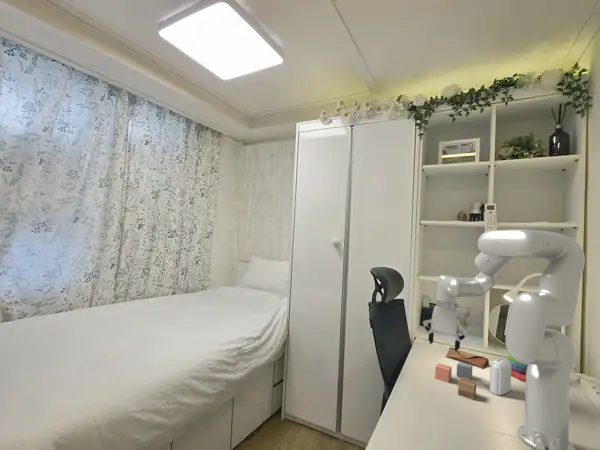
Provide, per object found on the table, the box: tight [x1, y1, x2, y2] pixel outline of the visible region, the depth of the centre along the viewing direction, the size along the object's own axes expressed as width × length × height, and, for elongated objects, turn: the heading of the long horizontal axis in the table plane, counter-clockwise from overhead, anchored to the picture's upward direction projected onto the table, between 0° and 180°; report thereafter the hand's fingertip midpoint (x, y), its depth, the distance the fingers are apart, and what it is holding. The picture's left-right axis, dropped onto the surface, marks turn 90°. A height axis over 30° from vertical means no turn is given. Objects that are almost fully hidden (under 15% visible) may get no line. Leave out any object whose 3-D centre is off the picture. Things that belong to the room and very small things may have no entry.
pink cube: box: [434, 363, 453, 383], centre depth 120 cm, size 5×5×5 cm
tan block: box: [457, 377, 477, 401], centre depth 108 cm, size 5×5×5 cm
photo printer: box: [489, 357, 512, 396], centre depth 113 cm, size 10×4×12 cm, turn 123°
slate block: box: [456, 361, 474, 380], centre depth 124 cm, size 5×5×5 cm
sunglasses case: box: [445, 347, 490, 370], centre depth 144 cm, size 18×7×7 cm
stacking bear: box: [507, 353, 528, 383], centre depth 130 cm, size 11×10×18 cm
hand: (443, 346), depth 122 cm, fingers open, 9 cm apart
